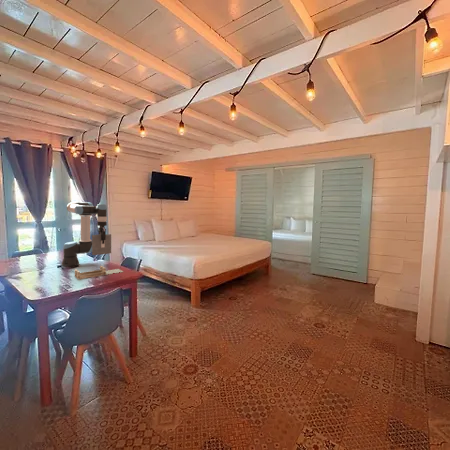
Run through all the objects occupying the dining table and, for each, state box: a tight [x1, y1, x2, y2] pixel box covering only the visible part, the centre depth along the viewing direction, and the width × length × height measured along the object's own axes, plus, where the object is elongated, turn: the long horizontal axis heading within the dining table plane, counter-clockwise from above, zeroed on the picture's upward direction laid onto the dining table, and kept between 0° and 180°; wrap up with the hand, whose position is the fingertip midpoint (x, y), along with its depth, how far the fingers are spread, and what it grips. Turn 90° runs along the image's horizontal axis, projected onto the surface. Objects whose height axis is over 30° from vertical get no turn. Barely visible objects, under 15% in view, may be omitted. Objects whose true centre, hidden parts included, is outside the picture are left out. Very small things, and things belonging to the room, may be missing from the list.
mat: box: [106, 268, 124, 275], centre depth 225 cm, size 12×15×1 cm
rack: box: [74, 265, 107, 280], centre depth 212 cm, size 10×22×6 cm, turn 135°
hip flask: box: [91, 232, 112, 256], centre depth 216 cm, size 16×4×20 cm, turn 134°
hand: (102, 246), depth 217 cm, fingers closed on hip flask, 4 cm apart
